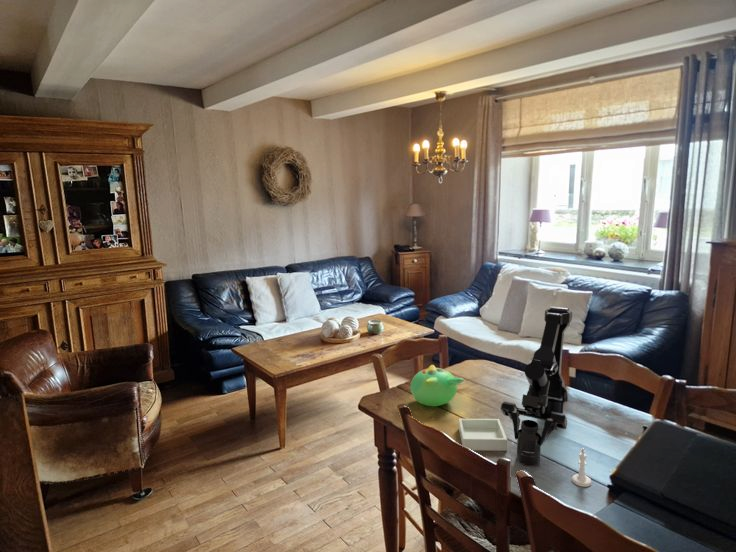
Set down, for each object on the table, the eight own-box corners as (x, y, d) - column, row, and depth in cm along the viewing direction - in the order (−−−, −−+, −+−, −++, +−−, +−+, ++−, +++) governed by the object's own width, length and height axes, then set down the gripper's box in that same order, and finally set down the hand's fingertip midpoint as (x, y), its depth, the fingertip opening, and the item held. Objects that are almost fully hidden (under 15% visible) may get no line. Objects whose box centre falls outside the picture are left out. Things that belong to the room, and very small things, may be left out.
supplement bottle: (525, 468, 136) (526, 430, 134) (511, 456, 143) (512, 419, 141) (545, 464, 138) (546, 426, 136) (531, 452, 144) (532, 416, 142)
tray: (498, 429, 159) (499, 418, 159) (507, 450, 146) (507, 439, 145) (458, 428, 160) (458, 418, 160) (463, 450, 147) (463, 439, 146)
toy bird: (444, 391, 191) (444, 357, 188) (466, 408, 175) (466, 371, 173) (404, 399, 185) (403, 364, 182) (423, 417, 169) (423, 379, 167)
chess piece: (585, 475, 132) (587, 443, 130) (594, 486, 127) (596, 452, 125) (568, 476, 132) (570, 444, 130) (577, 487, 127) (578, 453, 125)
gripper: (502, 377, 145) (491, 425, 137) (566, 388, 134) (557, 441, 127) (509, 391, 152) (498, 437, 145) (570, 403, 142) (562, 453, 135)
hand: (527, 442), depth 138 cm, fingers closed on supplement bottle, 7 cm apart
